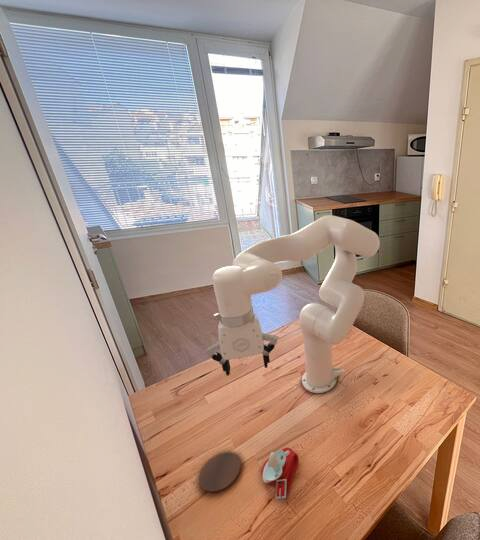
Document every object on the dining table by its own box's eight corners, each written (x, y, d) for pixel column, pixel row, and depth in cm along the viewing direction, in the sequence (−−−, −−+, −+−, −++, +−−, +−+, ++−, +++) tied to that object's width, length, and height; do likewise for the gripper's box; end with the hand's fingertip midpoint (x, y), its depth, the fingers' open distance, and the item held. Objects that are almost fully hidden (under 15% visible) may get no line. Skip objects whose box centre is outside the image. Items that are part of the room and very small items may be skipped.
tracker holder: (252, 470, 77) (282, 438, 83) (260, 480, 79) (288, 447, 85) (276, 499, 69) (307, 461, 75) (284, 509, 71) (314, 471, 77)
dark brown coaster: (242, 450, 83) (242, 448, 83) (239, 487, 75) (238, 485, 74) (204, 458, 81) (203, 456, 81) (195, 498, 72) (195, 496, 72)
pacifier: (259, 486, 73) (281, 485, 71) (248, 473, 70) (270, 471, 69) (269, 456, 79) (289, 454, 78) (259, 442, 76) (280, 440, 75)
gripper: (195, 330, 67) (210, 385, 74) (274, 318, 71) (281, 371, 79) (201, 312, 73) (214, 365, 80) (272, 302, 78) (279, 352, 85)
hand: (247, 368), depth 79 cm, fingers open, 9 cm apart
